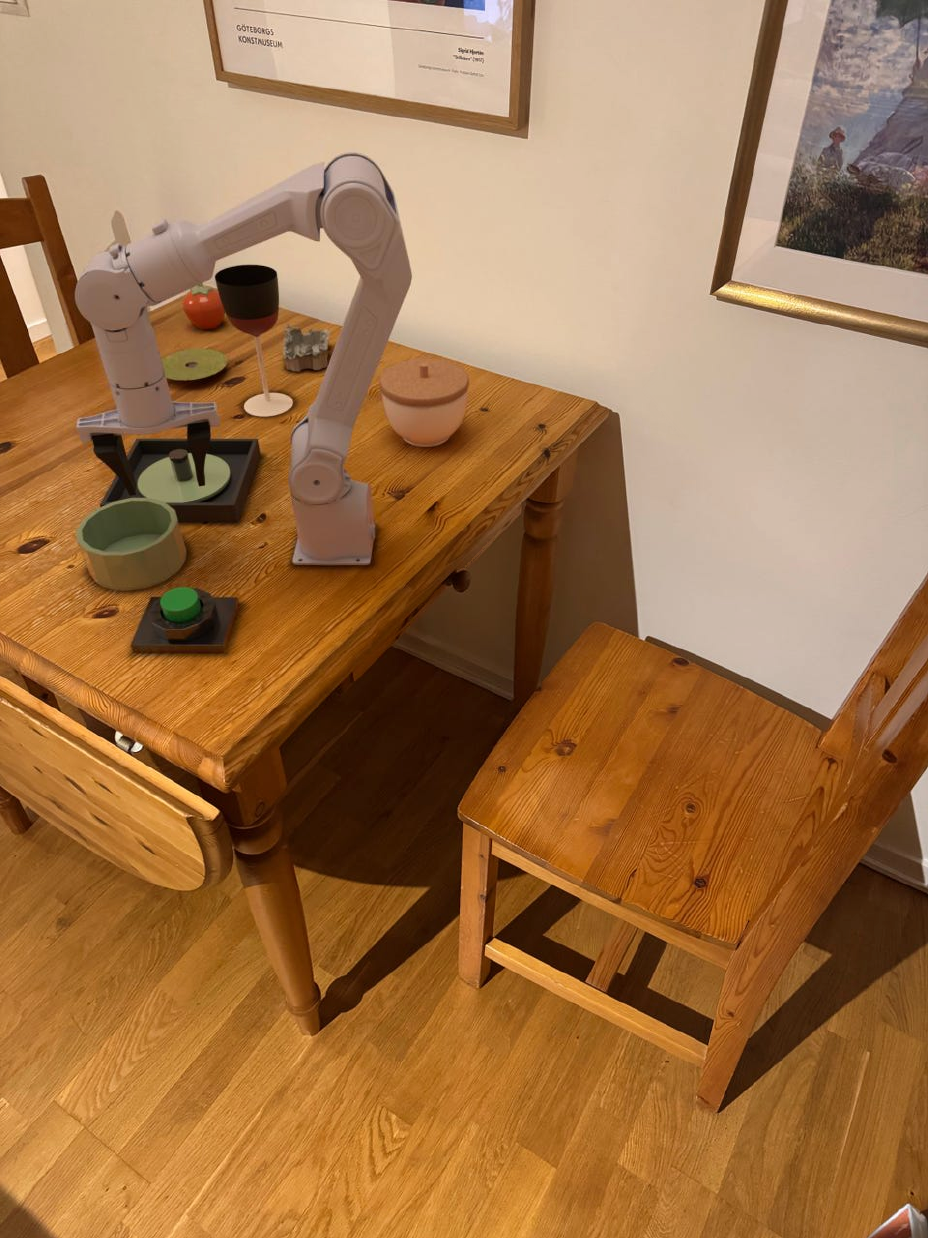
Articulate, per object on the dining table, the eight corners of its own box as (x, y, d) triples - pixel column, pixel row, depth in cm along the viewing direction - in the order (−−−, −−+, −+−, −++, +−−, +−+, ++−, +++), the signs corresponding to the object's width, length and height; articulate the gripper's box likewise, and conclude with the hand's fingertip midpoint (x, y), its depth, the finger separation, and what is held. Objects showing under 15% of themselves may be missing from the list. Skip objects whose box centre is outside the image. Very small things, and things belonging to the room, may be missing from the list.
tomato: (217, 313, 159) (208, 269, 154) (237, 326, 155) (228, 281, 150) (180, 324, 156) (169, 280, 151) (199, 337, 152) (189, 292, 146)
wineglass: (286, 419, 131) (264, 288, 117) (232, 414, 132) (205, 283, 118) (303, 394, 136) (285, 266, 123) (251, 389, 138) (228, 262, 124)
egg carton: (288, 345, 150) (285, 322, 147) (332, 343, 150) (329, 320, 147) (282, 373, 142) (278, 349, 139) (328, 371, 142) (325, 348, 139)
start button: (204, 598, 96) (201, 586, 95) (196, 623, 93) (192, 611, 92) (169, 598, 96) (165, 586, 95) (159, 622, 93) (155, 610, 92)
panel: (239, 604, 99) (234, 584, 97) (224, 653, 94) (219, 633, 92) (153, 604, 100) (146, 584, 98) (133, 653, 94) (125, 633, 92)
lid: (239, 459, 121) (233, 429, 118) (221, 509, 112) (213, 479, 109) (153, 459, 121) (145, 429, 118) (128, 509, 112) (118, 479, 109)
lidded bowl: (367, 443, 125) (360, 373, 118) (411, 406, 134) (407, 337, 126) (443, 465, 121) (441, 393, 113) (483, 425, 129) (484, 355, 122)
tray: (261, 455, 123) (257, 438, 121) (238, 522, 111) (234, 504, 109) (141, 455, 123) (136, 438, 121) (105, 522, 111) (99, 504, 109)
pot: (196, 533, 110) (186, 497, 106) (173, 591, 101) (162, 555, 98) (107, 532, 110) (94, 497, 106) (76, 591, 101) (62, 555, 98)
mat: (238, 360, 145) (236, 349, 144) (215, 392, 137) (212, 381, 136) (174, 356, 146) (172, 346, 145) (148, 388, 138) (144, 377, 137)
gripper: (206, 351, 94) (230, 459, 103) (67, 367, 91) (104, 475, 101) (208, 381, 89) (233, 491, 98) (60, 398, 86) (100, 509, 96)
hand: (167, 485), depth 99 cm, fingers open, 7 cm apart
